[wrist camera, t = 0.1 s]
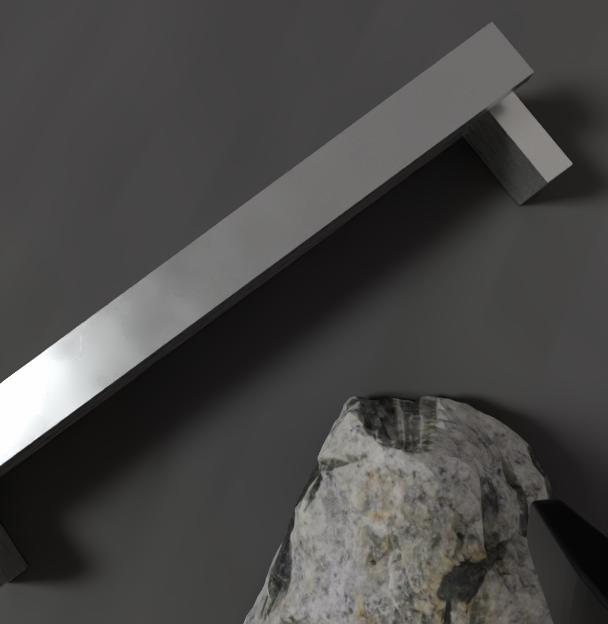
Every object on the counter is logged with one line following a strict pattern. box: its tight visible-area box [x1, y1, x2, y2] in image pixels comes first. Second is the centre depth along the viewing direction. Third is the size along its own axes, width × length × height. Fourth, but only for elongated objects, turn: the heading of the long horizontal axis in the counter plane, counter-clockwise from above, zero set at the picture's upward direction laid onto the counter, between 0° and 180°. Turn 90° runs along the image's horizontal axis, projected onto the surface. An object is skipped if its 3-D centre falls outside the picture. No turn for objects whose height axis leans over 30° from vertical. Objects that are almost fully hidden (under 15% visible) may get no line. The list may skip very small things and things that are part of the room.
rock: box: [244, 395, 553, 624], centre depth 19 cm, size 15×10×7 cm
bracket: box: [0, 22, 572, 588], centre depth 21 cm, size 6×29×5 cm, turn 126°
